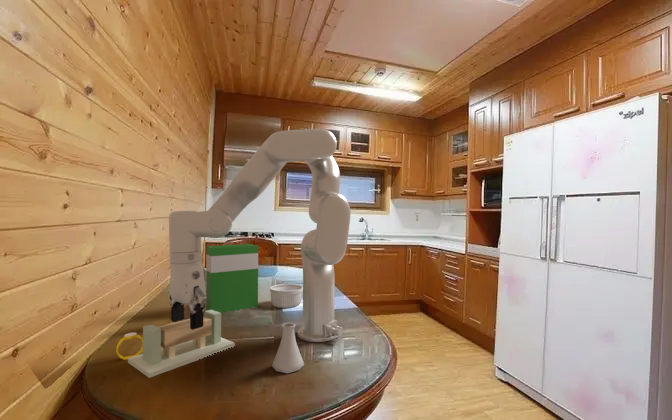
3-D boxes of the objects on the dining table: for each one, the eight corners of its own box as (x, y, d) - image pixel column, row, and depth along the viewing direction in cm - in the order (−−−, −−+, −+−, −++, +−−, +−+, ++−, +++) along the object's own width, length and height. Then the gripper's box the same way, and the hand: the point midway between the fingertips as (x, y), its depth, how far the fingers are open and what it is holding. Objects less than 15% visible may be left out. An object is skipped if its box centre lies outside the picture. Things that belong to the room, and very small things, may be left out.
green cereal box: (251, 302, 135) (251, 243, 135) (257, 307, 129) (258, 245, 129) (205, 309, 125) (206, 246, 125) (210, 314, 119) (211, 247, 119)
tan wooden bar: (211, 334, 88) (211, 319, 88) (164, 348, 79) (164, 331, 79) (202, 330, 92) (202, 315, 92) (156, 343, 83) (156, 326, 83)
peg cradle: (234, 346, 90) (234, 313, 90) (149, 377, 73) (149, 337, 73) (210, 336, 98) (210, 305, 98) (127, 362, 80) (128, 325, 81)
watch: (117, 363, 81) (115, 340, 80) (116, 360, 83) (114, 336, 82) (145, 355, 84) (144, 332, 84) (144, 352, 86) (142, 329, 86)
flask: (289, 357, 84) (289, 317, 84) (309, 365, 79) (309, 324, 79) (266, 367, 78) (266, 325, 78) (287, 377, 74) (287, 332, 74)
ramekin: (309, 303, 135) (309, 286, 135) (288, 311, 123) (288, 292, 123) (284, 298, 142) (284, 282, 142) (262, 305, 130) (262, 288, 131)
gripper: (217, 258, 83) (218, 326, 83) (183, 254, 94) (184, 314, 94) (188, 263, 77) (190, 336, 77) (155, 257, 88) (157, 321, 88)
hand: (187, 324), depth 86 cm, fingers open, 9 cm apart
